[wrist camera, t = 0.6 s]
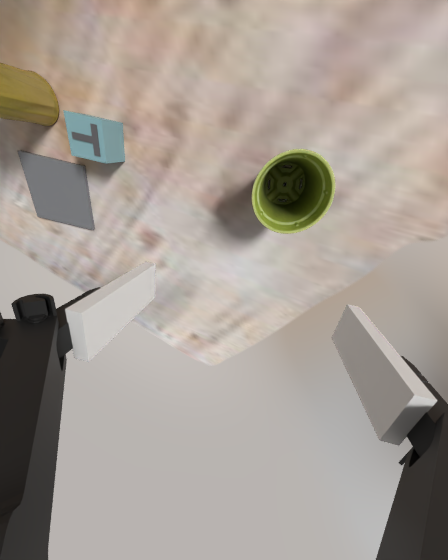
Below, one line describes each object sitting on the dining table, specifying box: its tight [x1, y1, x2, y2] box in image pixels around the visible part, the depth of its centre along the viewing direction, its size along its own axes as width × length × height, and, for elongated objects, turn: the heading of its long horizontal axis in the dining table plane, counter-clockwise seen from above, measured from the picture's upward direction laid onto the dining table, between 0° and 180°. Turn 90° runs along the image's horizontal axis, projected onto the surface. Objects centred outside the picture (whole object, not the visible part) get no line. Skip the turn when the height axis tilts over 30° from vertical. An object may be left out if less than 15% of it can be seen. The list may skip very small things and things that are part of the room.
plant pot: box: [252, 149, 335, 234], centre depth 28 cm, size 9×9×9 cm
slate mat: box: [18, 151, 95, 230], centre depth 37 cm, size 11×11×1 cm
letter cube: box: [63, 110, 125, 164], centre depth 30 cm, size 5×5×5 cm
